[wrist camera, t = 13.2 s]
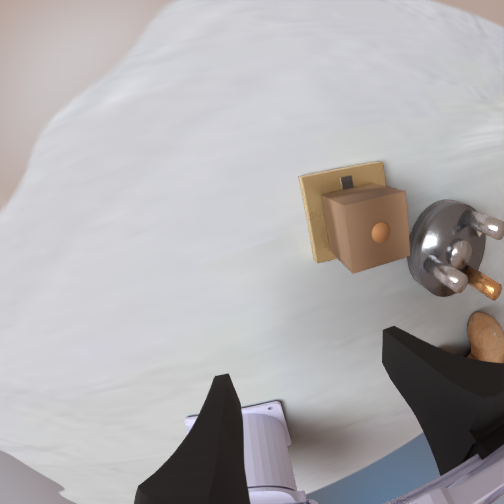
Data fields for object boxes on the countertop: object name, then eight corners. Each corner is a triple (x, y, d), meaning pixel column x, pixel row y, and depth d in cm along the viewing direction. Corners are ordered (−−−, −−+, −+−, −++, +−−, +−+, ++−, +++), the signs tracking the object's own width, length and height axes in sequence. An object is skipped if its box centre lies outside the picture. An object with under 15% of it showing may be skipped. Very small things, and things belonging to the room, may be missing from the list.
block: (330, 251, 20) (353, 274, 16) (320, 194, 19) (344, 205, 15) (380, 237, 20) (410, 256, 16) (374, 183, 19) (406, 191, 15)
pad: (313, 258, 22) (318, 264, 21) (298, 176, 20) (302, 177, 19) (385, 239, 22) (392, 243, 21) (375, 161, 20) (383, 162, 19)
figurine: (482, 294, 25) (568, 378, 13) (479, 326, 30) (545, 396, 18) (415, 364, 26) (495, 465, 14) (423, 383, 31) (485, 462, 19)
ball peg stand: (431, 303, 24) (469, 335, 18) (391, 248, 22) (435, 277, 16) (481, 242, 23) (523, 263, 17) (448, 180, 21) (499, 191, 15)
